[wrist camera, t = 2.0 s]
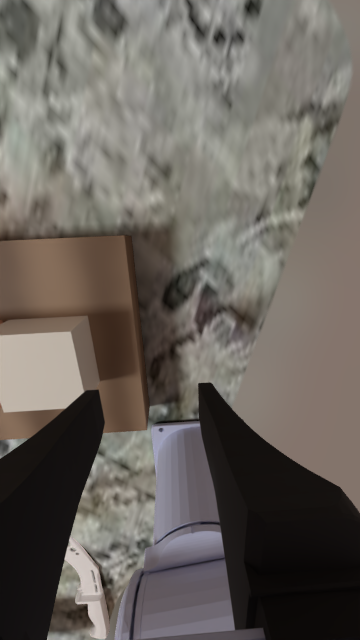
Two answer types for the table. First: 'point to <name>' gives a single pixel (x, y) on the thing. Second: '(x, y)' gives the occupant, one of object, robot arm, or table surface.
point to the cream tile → (45, 363)
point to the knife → (89, 589)
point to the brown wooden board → (81, 300)
